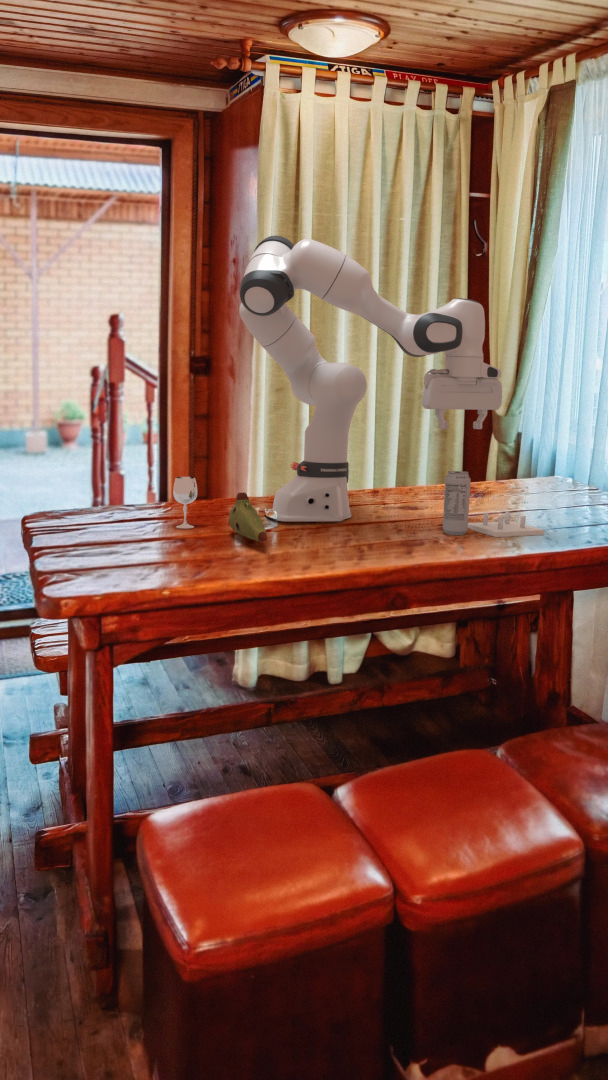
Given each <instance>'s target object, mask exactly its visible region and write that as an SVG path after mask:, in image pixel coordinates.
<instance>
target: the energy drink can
mask: <svg viewBox="0 0 608 1080" xmlns="http://www.w3.org/2000/svg"><path fill="white" fill-rule="evenodd" d="M447 473H448V474H447V475H446V476H445V479H444V480H445V481H444V497H443V513H442V514H443V515H442V516H443V517H442V530H443V531H444V534H446V535H451V536H465V535H466V532H467V531H468V530H469V528H468V523H469V513H470V495H471V481H472V480H471V477H470V475H469V471H461V470H450V471H448V472H447Z"/></svg>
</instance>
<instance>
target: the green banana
mask: <svg viewBox="0 0 608 1080" xmlns="http://www.w3.org/2000/svg"><path fill="white" fill-rule="evenodd" d="M228 523H229V525H230V526H229V527H230V528H231V529H232V530H233V531H234V532H235V533H237V534H239V535H241V536H242V537H245V538H247V539H250V540H253V541H257V542H266V541H267V540H268V536H267V531H266V528H265V526H264V523H263V521H262V519H261V517H260V516H259V514H258V512H257V510H256V509H255V508H254V507H253V505H252V504H251V502H250V499H249V497H248V494H247V493H246V492H243V491H242V492H238V493H237V495H236V498H235V503H234V504H233V505H232V507H231V509H230V511H229V514H228Z"/></svg>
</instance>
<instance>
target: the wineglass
mask: <svg viewBox="0 0 608 1080" xmlns="http://www.w3.org/2000/svg"><path fill="white" fill-rule="evenodd" d="M172 493H173V498H174V500H175V501H176V502H178V503H180V504H182V505H183V507H182V510H183V515H184V518H183V523H181V524H180V525H179V524H178V525H175V528H176V529H194V528H195V526H194V525H191V524H189V523H188V522H187V513H188V512H187V511H188V506H187V505H188V504H191V503H193V502H194V501H195V500H196V499H197V497H198V485H197V480H196V477H193V476H176V477H175V479H174V483H173V492H172Z"/></svg>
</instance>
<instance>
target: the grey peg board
mask: <svg viewBox="0 0 608 1080" xmlns="http://www.w3.org/2000/svg"><path fill="white" fill-rule="evenodd" d="M526 517H527V516H526V515H520V522H515V521H511V512H510V511H505V516H498V519H497V520H498V521H489V513H488V512H483V517H482V518H483V519H482V521H481V522H480V521H479V522H468V529H470V530H472V531H474V530H475V532H477V533H480V534H484V535H487V536H491V537H493V538H504V537H505V538H506V537H522V536H523V537H525V536H526V537H527V536H544V535H545V529H542V528H538V527H534V526H530V525H526V520H527V519H526Z"/></svg>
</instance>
